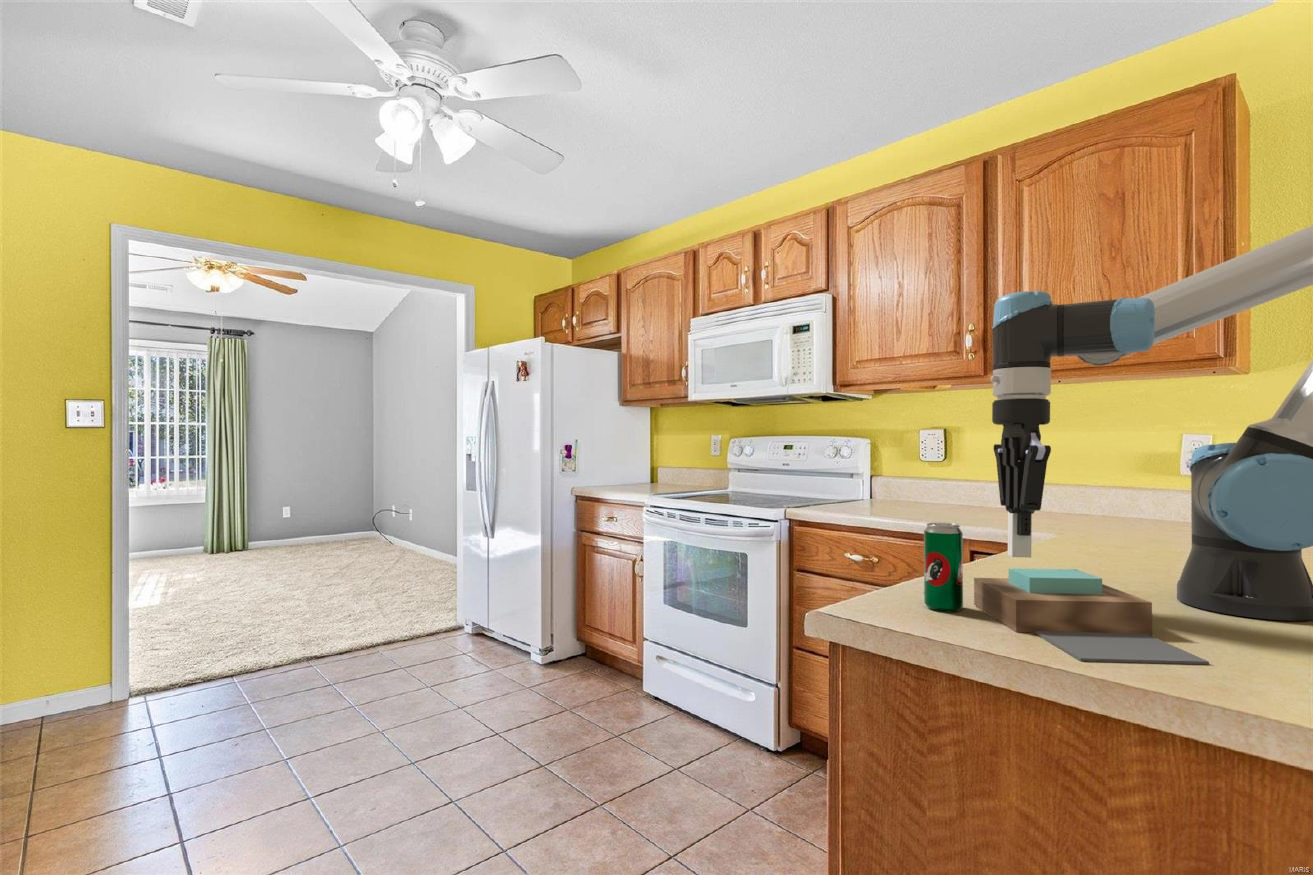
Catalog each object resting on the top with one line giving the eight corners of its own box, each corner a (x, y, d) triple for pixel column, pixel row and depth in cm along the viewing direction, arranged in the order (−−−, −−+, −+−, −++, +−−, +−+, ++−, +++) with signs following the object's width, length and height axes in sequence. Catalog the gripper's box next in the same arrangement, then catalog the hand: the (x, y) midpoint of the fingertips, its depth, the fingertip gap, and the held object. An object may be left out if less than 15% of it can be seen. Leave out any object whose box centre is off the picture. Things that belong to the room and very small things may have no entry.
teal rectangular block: (1076, 583, 89) (1076, 569, 89) (1102, 594, 83) (1102, 578, 83) (1008, 582, 90) (1008, 568, 90) (1029, 592, 84) (1029, 577, 84)
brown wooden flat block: (1090, 607, 92) (1090, 579, 92) (1152, 635, 79) (1152, 602, 79) (974, 605, 93) (974, 577, 93) (1016, 631, 80) (1015, 599, 80)
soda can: (967, 613, 89) (966, 527, 89) (928, 612, 90) (928, 526, 90) (957, 604, 94) (957, 522, 94) (921, 603, 95) (920, 521, 95)
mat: (1146, 636, 79) (1146, 633, 79) (1208, 664, 69) (1208, 661, 69) (1034, 633, 80) (1034, 631, 80) (1080, 661, 70) (1080, 658, 70)
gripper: (976, 400, 103) (975, 548, 103) (1014, 395, 90) (1013, 564, 90) (1026, 400, 102) (1024, 549, 102) (1071, 395, 89) (1069, 565, 89)
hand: (1019, 556), depth 96 cm, fingers closed
